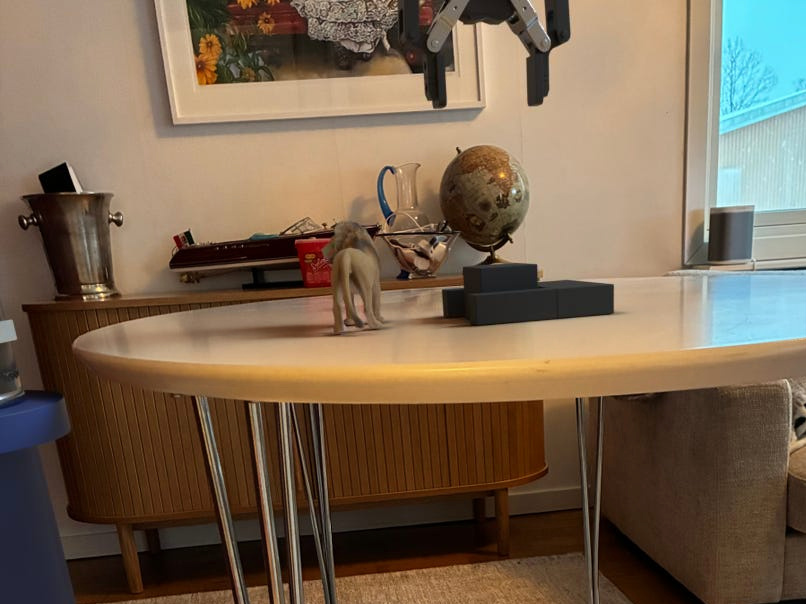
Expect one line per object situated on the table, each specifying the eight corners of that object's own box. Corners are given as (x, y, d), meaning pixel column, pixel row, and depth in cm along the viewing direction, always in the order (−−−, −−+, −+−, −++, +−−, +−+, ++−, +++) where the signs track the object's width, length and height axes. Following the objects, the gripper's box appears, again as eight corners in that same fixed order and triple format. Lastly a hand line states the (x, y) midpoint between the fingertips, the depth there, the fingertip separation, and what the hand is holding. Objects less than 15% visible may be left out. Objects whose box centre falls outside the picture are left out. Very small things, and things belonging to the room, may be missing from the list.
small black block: (482, 322, 86) (480, 268, 84) (465, 317, 90) (462, 266, 89) (539, 317, 87) (537, 263, 85) (519, 313, 92) (517, 262, 90)
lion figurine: (328, 322, 94) (317, 222, 90) (383, 318, 95) (374, 218, 91) (333, 337, 80) (320, 220, 77) (396, 332, 81) (386, 216, 78)
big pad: (476, 325, 83) (474, 295, 82) (443, 316, 93) (441, 289, 92) (614, 313, 86) (614, 284, 85) (568, 306, 96) (567, 279, 95)
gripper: (546, -110, 80) (550, 110, 86) (379, -117, 76) (396, 113, 83) (581, -142, 73) (583, 99, 80) (400, -151, 70) (417, 102, 76)
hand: (488, 106), depth 81 cm, fingers open, 8 cm apart
